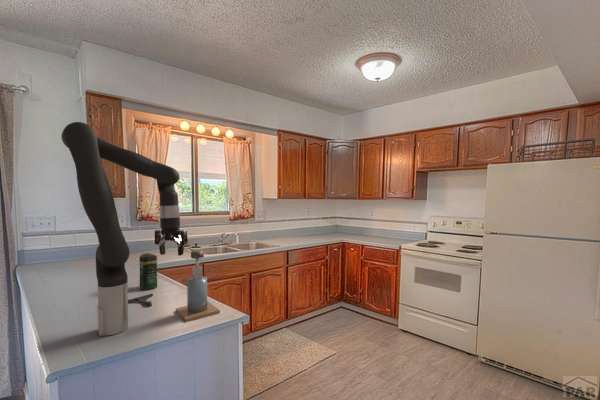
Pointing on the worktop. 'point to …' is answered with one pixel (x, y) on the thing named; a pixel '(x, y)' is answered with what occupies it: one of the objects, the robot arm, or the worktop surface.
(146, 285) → the coffee jar
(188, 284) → the soap dispenser
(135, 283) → the worktop surface
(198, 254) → the grey dome cap
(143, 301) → the bracket
